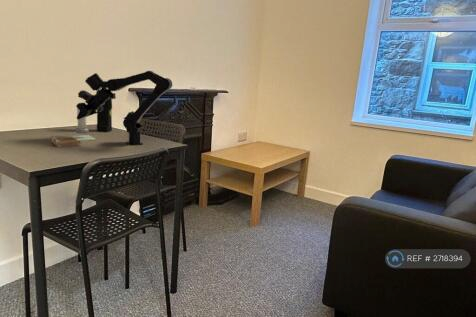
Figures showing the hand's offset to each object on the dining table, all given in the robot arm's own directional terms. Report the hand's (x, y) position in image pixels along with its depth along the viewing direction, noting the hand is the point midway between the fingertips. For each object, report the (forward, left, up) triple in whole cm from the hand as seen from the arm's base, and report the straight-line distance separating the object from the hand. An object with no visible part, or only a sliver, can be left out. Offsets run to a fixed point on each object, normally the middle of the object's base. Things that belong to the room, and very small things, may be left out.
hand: (79, 118), depth 174 cm
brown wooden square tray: (-11, +9, -10) cm, 18 cm away
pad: (-1, -1, -10) cm, 10 cm away
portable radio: (+17, -19, -11) cm, 28 cm away
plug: (-1, -1, -7) cm, 7 cm away
